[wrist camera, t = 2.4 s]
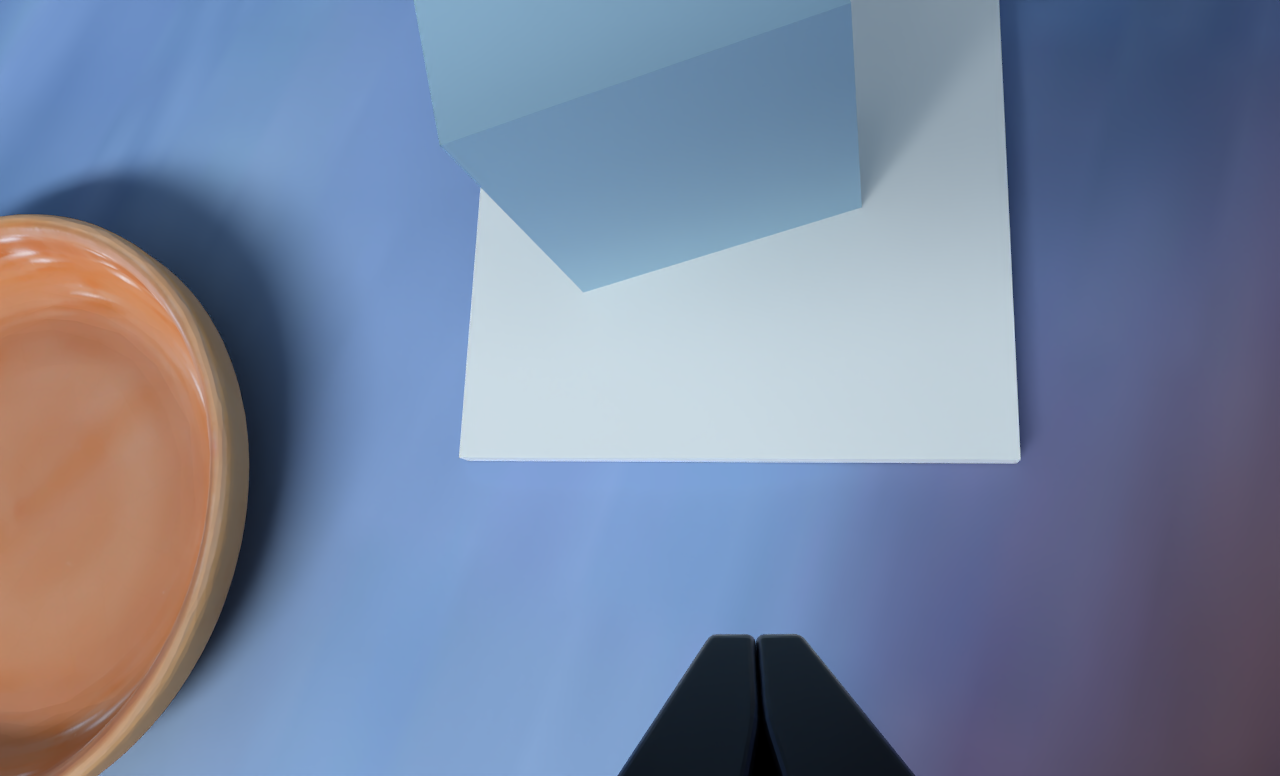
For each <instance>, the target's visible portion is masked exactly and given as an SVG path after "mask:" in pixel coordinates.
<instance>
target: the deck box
mask: <svg viewBox="0 0 1280 776" xmlns="http://www.w3.org/2000/svg"><path fill="white" fill-rule="evenodd" d="M414 5H415V11H416V16H417V22H418V28H419V33H420V39H421V44H422V50H423V55H424V61H425V66H426V72H427V78H428V83H429V89H430V94H431V100H432V105H433V111H434V117H435V122H436V128H437V133H438V139H439V144H440V146H441V147H442V148H443V150H444V151H445V152H446V153H447V154H448V155H449V156H450V157H451V158H452V159H453V160H454V161H455V162H456V163H457V164H458V165H459V166H460V167H461V168H462V169H463V170H464V171H465V172H466V173H467V174H468V175H469V176H470V177H471V178H472V179H473V180H474V181H475V182H476V183H477V184H478V185H479V186H480V187H481V188H482V189H483V190H484V191H485V192H486V193H487V194H488V195H489V197H490V198H491V199H492V200H493V201H494V202H495V203H496V204H497V205H498V206H499V207H500V208H501V209H502V210H503V211H504V212H505V213H506V214H507V215H508V216H509V217H510V218H511V219H512V220H513V221H514V222H515V223H516V224H517V225H518V226H519V227H520V228H521V229H522V230H523V231H524V232H525V233H526V234H527V235H528V236H529V237H530V238H531V239H532V240H533V241H534V242H535V244H536V245H537V246H538V247H539V248H540V249H541V250H542V251H543V252H544V253H545V254H546V255H547V256H548V257H549V258H550V259H551V260H552V261H553V262H554V263H555V264H556V265H557V266H558V267H559V268H560V269H561V270H562V271H563V272H564V273H565V274H566V275H567V276H568V277H569V278H570V279H571V280H572V281H573V282H574V283H575V284H576V285H577V286H578V287H579V288H580V289H581V291H582V292H583V293H584V292H587V291H590V290H593V289H597V288H600V287H603V286H607V285H610V284H613V283H616V282H620V281H623V280H626V279H629V278H633V277H636V276H639V275H642V274H646V273H649V272H652V271H656V270H659V269H662V268H665V267H669V266H672V265H675V264H678V263H682V262H685V261H688V260H691V259H695V258H698V257H701V256H705V255H708V254H711V253H714V252H718V251H721V250H724V249H727V248H731V247H734V246H737V245H740V244H744V243H747V242H750V241H754V240H757V239H760V238H763V237H767V236H770V235H773V234H776V233H780V232H783V231H786V230H790V229H793V228H796V227H799V226H803V225H806V224H809V223H812V222H816V221H819V220H822V219H825V218H829V217H832V216H835V215H839V214H842V213H845V212H848V211H852V210H855V209H858V208H861V207H862V202H861V183H860V164H859V145H858V126H857V107H856V88H855V69H854V50H853V31H852V12H851V1H850V0H414Z"/></svg>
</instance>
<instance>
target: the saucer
mask: <svg viewBox="0 0 1280 776" xmlns="http://www.w3.org/2000/svg"><path fill="white" fill-rule="evenodd" d="M248 488H249V444H248V434H247V425H246V416H245V411H244V406H243V402H242V397H241V392H240V388H239V384H238V381H237V378H236V374H235V371H234V368H233V365H232V362H231V360H230V357H229V355H228V352H227V350H226V347H225V345H224V342H223V340H222V338H221V336H220V334H219V332H218V331H217V329H216V327H215V325H214V324H213V322H212V320H211V318H210V317H209V315H208V314H207V312H206V311H205V309H204V308H203V306H202V305H201V303H200V302H199V301H198V299H197V298H196V297H195V296H194V294H193V293H192V292H191V291H190V290H189V289H188V288H187V287H186V286H185V285H184V284H183V283H182V281H181V280H180V279H179V278H178V277H177V276H176V275H174V274H173V273H172V272H171V271H170V270H169V269H168V268H166V267H165V266H164V265H162V264H161V263H160V262H158V261H157V260H155V259H154V258H153V257H151V256H150V255H148V254H147V253H146V252H144V251H143V250H141V249H140V248H139V247H137V246H136V245H134V244H133V243H131V242H129V241H127V240H126V239H124V238H122V237H120V236H119V235H117V234H115V233H113V232H110V231H108V230H106V229H104V228H101V227H99V226H97V225H94V224H91V223H88V222H85V221H81V220H77V219H73V218H68V217H61V216H54V215H41V214H17V215H9V216H2V217H0V776H97V775H99V774H100V773H101V772H103V771H104V770H105V769H107V768H108V767H109V766H110V765H112V764H113V763H114V762H115V761H116V760H118V759H119V758H120V757H121V756H122V755H123V754H125V753H126V752H127V751H128V750H129V749H130V748H131V747H132V746H133V745H134V744H135V743H136V742H137V741H138V740H139V739H140V738H141V737H142V736H143V735H144V733H145V732H146V731H147V730H148V729H149V728H150V727H151V726H152V725H153V724H154V722H155V721H156V720H157V719H158V718H159V717H160V715H161V714H162V713H163V712H164V711H165V709H166V708H167V707H168V705H169V704H170V703H171V701H172V700H173V699H174V697H175V696H176V694H177V693H178V691H179V690H180V688H181V687H182V685H183V684H184V682H185V681H186V680H187V678H188V677H189V675H190V673H191V671H192V670H193V668H194V666H195V664H196V663H197V661H198V659H199V657H200V656H201V654H202V652H203V650H204V648H205V646H206V644H207V642H208V640H209V638H210V636H211V634H212V632H213V630H214V627H215V625H216V623H217V621H218V619H219V616H220V613H221V611H222V608H223V605H224V603H225V600H226V597H227V594H228V591H229V588H230V584H231V581H232V578H233V575H234V572H235V568H236V564H237V560H238V556H239V552H240V547H241V543H242V537H243V532H244V526H245V519H246V512H247V501H248Z"/></svg>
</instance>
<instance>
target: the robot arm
mask: <svg viewBox="0 0 1280 776" xmlns="http://www.w3.org/2000/svg"><path fill="white" fill-rule="evenodd" d="M618 776H915V775H914V774H913V772H912V771H911V770H910V769H909V767H908V766H907V765H906V764H905V762H904V761H903V760H902V759H901V757H900V756H899V755H898V754H897V753H896V751H895V750H894V749H893V748H892V746H891V745H890V744H889V743H888V741H887V740H886V739H885V738H884V736H883V735H882V734H881V733H880V732H879V730H878V729H877V728H876V727H875V725H874V724H873V723H872V722H871V720H870V719H869V718H868V717H867V716H866V714H865V713H864V712H863V711H862V709H861V708H860V707H859V706H858V704H857V703H856V702H855V701H854V699H853V698H852V697H851V696H850V695H849V693H848V692H847V691H846V690H845V688H844V687H843V686H842V685H841V683H840V682H839V681H838V680H837V679H836V677H835V676H834V675H833V674H832V672H831V671H830V670H829V669H828V667H827V666H826V665H825V664H824V662H823V661H822V660H821V659H820V658H819V656H818V655H817V654H816V653H815V651H814V650H813V649H812V648H811V646H810V645H809V644H808V643H807V641H806V640H805V639H804V638H803V637H801V636H800V635H797V634H763V635H760V636H759V637H758V638H757V640H756V643H755V640H754V638H753V637H752V636H751V635H748V634H716V635H712V636H710V637H709V638H708V640H707V641H706V642H705V644H704V645H703V647H702V648H701V650H700V651H699V653H698V654H697V656H696V657H695V659H694V661H693V662H692V664H691V665H690V667H689V668H688V670H687V671H686V673H685V674H684V676H683V677H682V679H681V680H680V682H679V683H678V685H677V686H676V688H675V689H674V691H673V692H672V694H671V695H670V697H669V698H668V700H667V701H666V703H665V704H664V706H663V707H662V709H661V711H660V712H659V714H658V715H657V717H656V718H655V720H654V721H653V723H652V724H651V726H650V727H649V729H648V730H647V732H646V733H645V735H644V736H643V738H642V739H641V741H640V742H639V744H638V745H637V747H636V748H635V750H634V751H633V753H632V754H631V756H630V758H629V759H628V761H627V762H626V764H625V765H624V767H623V768H622V770H621V771H620V773H619V774H618Z"/></svg>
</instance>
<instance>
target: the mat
mask: <svg viewBox="0 0 1280 776" xmlns="http://www.w3.org/2000/svg"><path fill="white" fill-rule="evenodd" d="M850 1H851V12H852V31H853V50H854V69H855V88H856V107H857V126H858V145H859V164H860V183H861V202H862V207H861V208H858V209H855V210H852V211H848V212H845V213H842V214H839V215H835V216H832V217H829V218H825V219H822V220H819V221H816V222H812V223H809V224H806V225H803V226H799V227H796V228H793V229H790V230H786V231H783V232H780V233H776V234H773V235H770V236H767V237H763V238H760V239H757V240H754V241H750V242H747V243H744V244H740V245H737V246H734V247H731V248H727V249H724V250H721V251H718V252H714V253H711V254H708V255H705V256H701V257H698V258H695V259H691V260H688V261H685V262H682V263H678V264H675V265H672V266H669V267H665V268H662V269H659V270H656V271H652V272H649V273H646V274H642V275H639V276H636V277H633V278H629V279H626V280H623V281H620V282H616V283H613V284H610V285H607V286H603V287H600V288H597V289H593V290H590V291H587V292H584V293H583V292H582V291H581V289H580V288H579V287H578V286H577V285H576V284H575V283H574V282H573V281H572V280H571V279H570V278H569V277H568V276H567V275H566V274H565V273H564V272H563V271H562V270H561V269H560V268H559V267H558V266H557V265H556V264H555V263H554V262H553V261H552V260H551V259H550V258H549V257H548V256H547V255H546V254H545V253H544V252H543V251H542V250H541V249H540V248H539V247H538V246H537V245H536V244H535V242H534V241H533V240H532V239H531V238H530V237H529V236H528V235H527V234H526V233H525V232H524V231H523V230H522V229H521V228H520V227H519V226H518V225H517V224H516V223H515V222H514V221H513V220H512V219H511V218H510V217H509V216H508V215H507V214H506V213H505V212H504V211H503V210H502V209H501V208H500V207H499V206H498V205H497V204H496V203H495V202H494V201H493V200H492V199H491V198H490V197H489V195H488V194H487V193H486V192H485V191H484V190H483V189H482V188H480V200H479V213H478V226H477V238H476V251H475V263H474V276H473V288H472V301H471V314H470V326H469V339H468V351H467V364H466V376H465V389H464V402H463V414H462V427H461V439H460V452H459V458H462V459H465V460H468V461H614V462H821V463H1018V462H1019V461H1020V460H1021V458H1020V437H1019V415H1018V394H1017V373H1016V351H1015V330H1014V309H1013V287H1012V266H1011V244H1010V223H1009V202H1008V180H1007V159H1006V138H1005V116H1004V95H1003V74H1002V52H1001V31H1000V9H999V0H850Z"/></svg>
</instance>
